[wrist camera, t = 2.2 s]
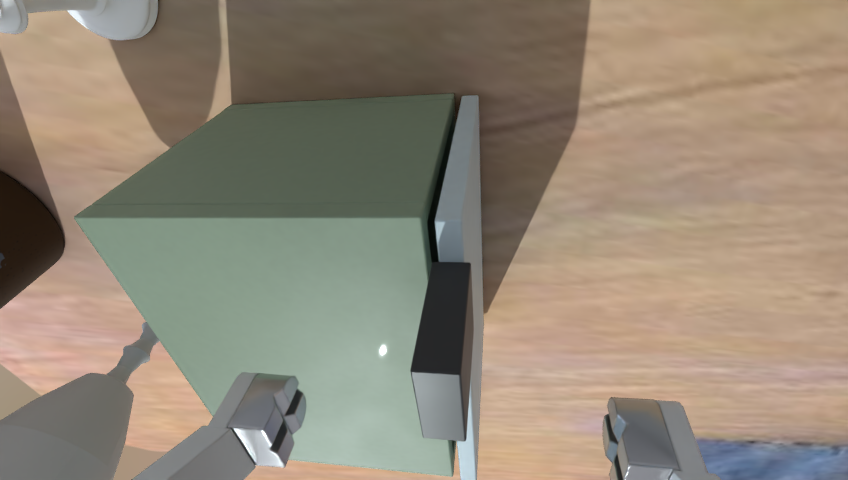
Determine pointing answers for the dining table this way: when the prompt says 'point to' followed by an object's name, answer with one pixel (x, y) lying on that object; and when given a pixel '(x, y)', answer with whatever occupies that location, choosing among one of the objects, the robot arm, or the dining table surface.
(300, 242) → the cabinet
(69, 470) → the chalice
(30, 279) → the dark brown necked cylinder
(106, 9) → the chess piece
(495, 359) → the dining table surface
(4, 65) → the dining table surface
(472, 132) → the sliding door
